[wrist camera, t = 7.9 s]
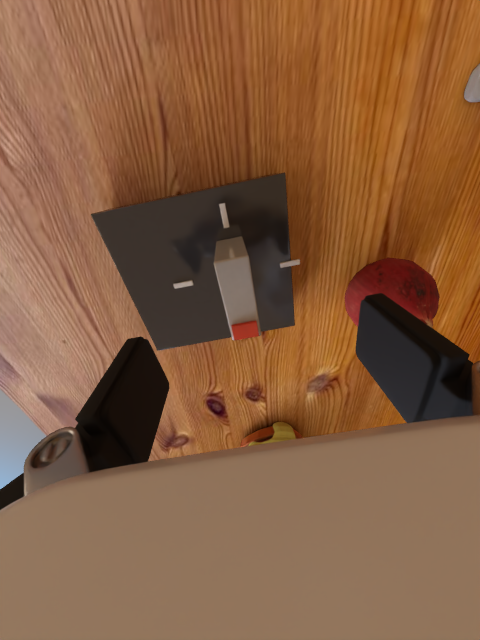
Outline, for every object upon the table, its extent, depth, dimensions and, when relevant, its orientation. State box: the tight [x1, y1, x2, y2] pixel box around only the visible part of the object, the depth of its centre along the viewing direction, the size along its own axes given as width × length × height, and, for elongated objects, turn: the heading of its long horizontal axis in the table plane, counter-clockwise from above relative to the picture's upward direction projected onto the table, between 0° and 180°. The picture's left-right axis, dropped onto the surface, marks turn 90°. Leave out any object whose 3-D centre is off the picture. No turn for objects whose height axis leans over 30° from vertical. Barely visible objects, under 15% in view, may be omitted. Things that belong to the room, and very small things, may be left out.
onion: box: [345, 258, 439, 328], centre depth 17 cm, size 6×6×8 cm
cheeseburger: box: [241, 422, 302, 447], centre depth 31 cm, size 10×11×10 cm
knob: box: [214, 236, 261, 340], centre depth 14 cm, size 5×2×5 cm, turn 10°
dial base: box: [91, 173, 300, 350], centre depth 18 cm, size 13×11×3 cm
